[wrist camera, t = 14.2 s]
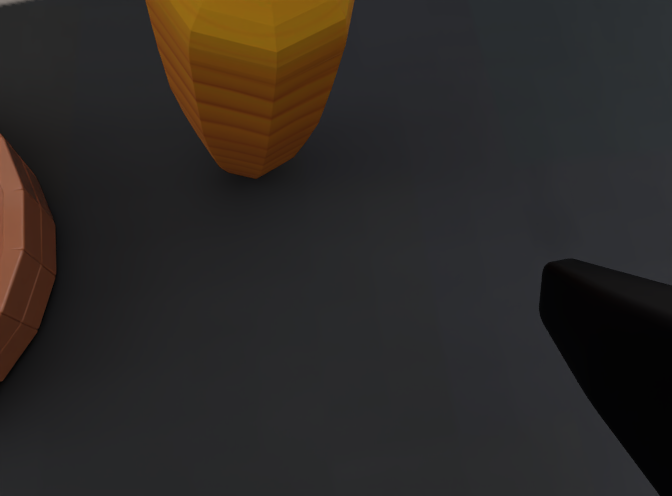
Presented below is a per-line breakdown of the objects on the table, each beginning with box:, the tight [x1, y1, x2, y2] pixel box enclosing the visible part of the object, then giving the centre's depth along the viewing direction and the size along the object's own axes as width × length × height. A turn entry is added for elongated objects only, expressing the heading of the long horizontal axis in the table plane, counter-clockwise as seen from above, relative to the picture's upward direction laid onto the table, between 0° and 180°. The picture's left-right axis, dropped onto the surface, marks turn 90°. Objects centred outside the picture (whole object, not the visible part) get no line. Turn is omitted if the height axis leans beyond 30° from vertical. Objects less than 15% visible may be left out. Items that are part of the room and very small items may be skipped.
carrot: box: [145, 0, 354, 179], centre depth 16 cm, size 5×5×15 cm
